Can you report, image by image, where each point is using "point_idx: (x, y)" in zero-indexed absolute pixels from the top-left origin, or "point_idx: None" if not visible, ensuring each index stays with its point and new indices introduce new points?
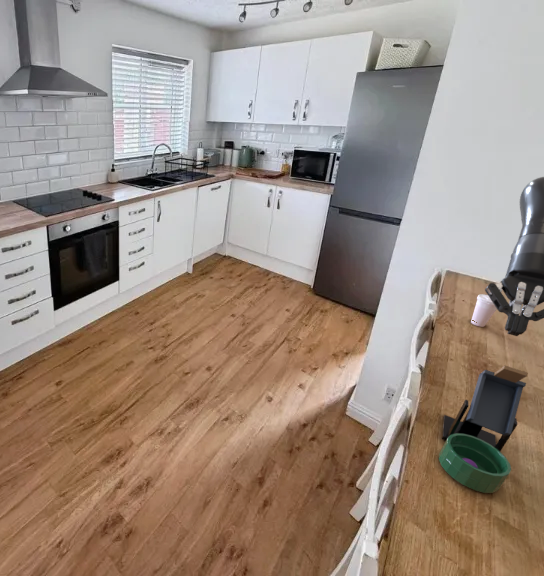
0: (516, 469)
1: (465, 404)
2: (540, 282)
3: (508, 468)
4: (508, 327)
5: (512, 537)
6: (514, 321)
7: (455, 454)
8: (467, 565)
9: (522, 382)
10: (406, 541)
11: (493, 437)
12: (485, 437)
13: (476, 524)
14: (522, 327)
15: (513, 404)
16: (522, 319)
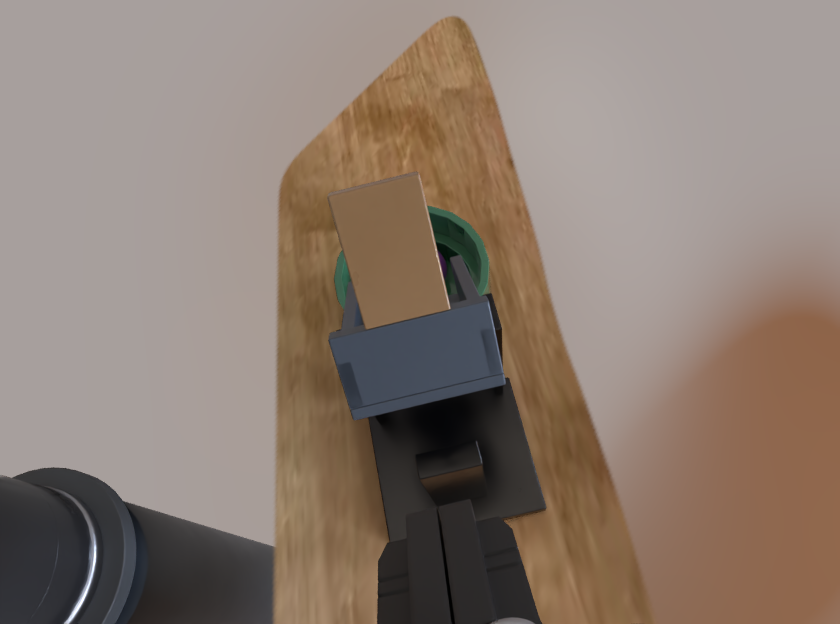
0: (322, 434)
1: (491, 294)
2: None
3: (340, 277)
4: (498, 519)
5: (316, 203)
6: (479, 555)
7: (453, 214)
8: (371, 90)
9: (341, 333)
10: (458, 51)
11: (392, 520)
12: (412, 494)
13: (374, 176)
14: (407, 542)
15: (357, 323)
16: (428, 608)
